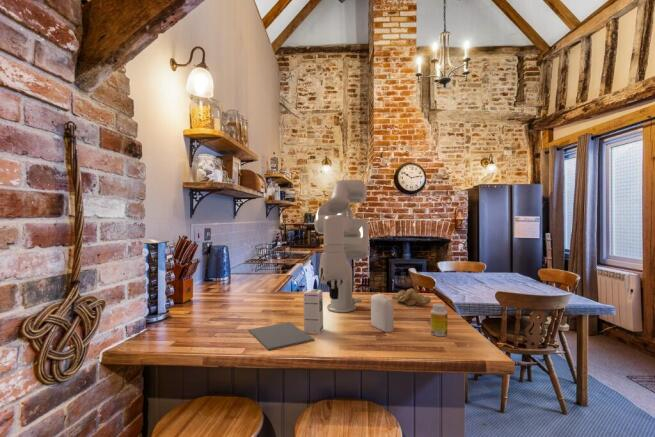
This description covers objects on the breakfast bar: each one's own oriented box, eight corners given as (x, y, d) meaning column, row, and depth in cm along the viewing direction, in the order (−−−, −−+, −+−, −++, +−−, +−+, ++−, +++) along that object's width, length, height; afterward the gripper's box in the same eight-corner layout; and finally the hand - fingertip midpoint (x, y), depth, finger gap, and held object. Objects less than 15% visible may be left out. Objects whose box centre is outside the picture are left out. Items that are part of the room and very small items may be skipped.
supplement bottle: (448, 337, 115) (448, 307, 115) (430, 336, 116) (430, 306, 116) (446, 332, 120) (446, 303, 120) (430, 330, 122) (430, 302, 122)
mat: (289, 323, 130) (289, 322, 130) (314, 340, 113) (314, 338, 113) (248, 331, 122) (248, 329, 122) (268, 350, 105) (268, 348, 105)
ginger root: (389, 296, 167) (393, 280, 167) (420, 304, 166) (424, 288, 166) (393, 306, 151) (398, 289, 151) (428, 315, 151) (433, 297, 150)
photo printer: (369, 325, 128) (369, 292, 128) (378, 323, 130) (378, 291, 130) (385, 333, 119) (385, 298, 119) (395, 331, 121) (395, 297, 121)
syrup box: (319, 334, 118) (319, 293, 118) (303, 333, 120) (303, 292, 119) (323, 329, 124) (323, 289, 124) (307, 328, 125) (307, 288, 125)
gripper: (345, 247, 133) (345, 294, 133) (311, 249, 125) (311, 299, 125) (356, 248, 126) (356, 298, 126) (321, 251, 119) (321, 303, 119)
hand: (333, 298), depth 126 cm, fingers closed
